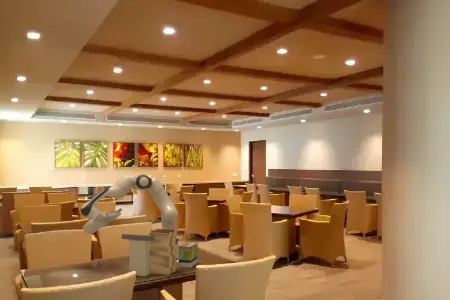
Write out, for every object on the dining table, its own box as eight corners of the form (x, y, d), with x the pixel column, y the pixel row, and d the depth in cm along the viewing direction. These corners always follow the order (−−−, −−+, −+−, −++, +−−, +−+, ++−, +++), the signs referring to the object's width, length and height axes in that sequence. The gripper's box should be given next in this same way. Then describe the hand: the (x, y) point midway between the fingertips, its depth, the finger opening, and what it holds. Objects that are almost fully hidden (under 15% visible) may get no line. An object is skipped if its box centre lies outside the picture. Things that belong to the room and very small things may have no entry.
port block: (133, 273, 264) (133, 238, 265) (149, 274, 260) (149, 239, 261) (129, 274, 260) (129, 239, 261) (145, 276, 256) (145, 240, 257)
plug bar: (124, 238, 267) (124, 233, 267) (153, 240, 259) (153, 235, 259) (121, 238, 264) (121, 234, 264) (151, 241, 256) (151, 236, 256)
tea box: (192, 268, 276) (191, 246, 277) (177, 267, 278) (177, 245, 279) (197, 263, 291) (197, 242, 292) (184, 262, 293) (184, 241, 294)
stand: (157, 269, 273) (157, 228, 274) (175, 271, 268) (175, 229, 269) (149, 273, 264) (149, 230, 265) (168, 275, 259) (168, 231, 260)
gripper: (90, 217, 268) (105, 207, 264) (109, 213, 287) (124, 204, 283) (94, 225, 266) (109, 215, 262) (113, 221, 285) (127, 212, 281)
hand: (116, 209), depth 273 cm, fingers open, 8 cm apart
